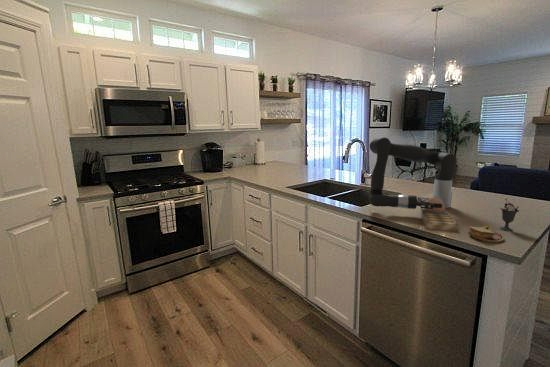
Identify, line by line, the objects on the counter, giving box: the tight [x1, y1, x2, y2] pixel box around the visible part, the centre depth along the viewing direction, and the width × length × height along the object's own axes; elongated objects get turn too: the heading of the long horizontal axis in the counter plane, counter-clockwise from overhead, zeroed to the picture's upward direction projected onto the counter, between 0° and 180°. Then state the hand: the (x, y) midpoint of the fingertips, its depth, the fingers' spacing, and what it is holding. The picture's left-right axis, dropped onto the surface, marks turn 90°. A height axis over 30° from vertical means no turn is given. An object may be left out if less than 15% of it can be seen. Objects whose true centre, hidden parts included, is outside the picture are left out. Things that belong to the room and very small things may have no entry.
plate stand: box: [419, 208, 449, 218], centre depth 148 cm, size 12×6×4 cm, turn 70°
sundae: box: [499, 198, 520, 232], centre depth 128 cm, size 7×7×15 cm
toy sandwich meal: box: [467, 225, 505, 243], centre depth 122 cm, size 12×14×5 cm
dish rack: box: [421, 213, 458, 232], centre depth 138 cm, size 13×13×4 cm
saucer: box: [423, 197, 446, 213], centre depth 147 cm, size 10×2×10 cm, turn 70°
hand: (440, 203), depth 146 cm, fingers open, 7 cm apart
